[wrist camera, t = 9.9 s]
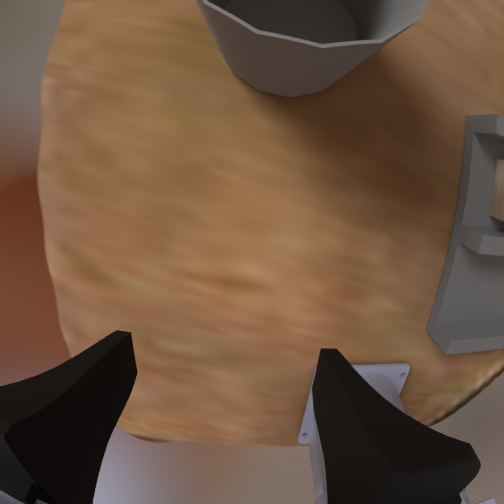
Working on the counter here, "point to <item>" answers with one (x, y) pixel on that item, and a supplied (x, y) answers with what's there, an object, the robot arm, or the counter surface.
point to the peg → (498, 192)
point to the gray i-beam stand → (474, 251)
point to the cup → (303, 38)
